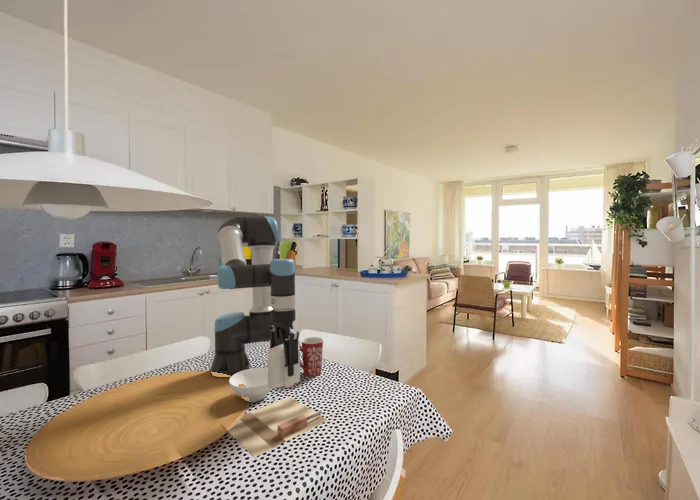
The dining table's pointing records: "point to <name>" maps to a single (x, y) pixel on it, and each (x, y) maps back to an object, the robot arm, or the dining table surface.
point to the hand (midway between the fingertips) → (284, 383)
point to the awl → (294, 424)
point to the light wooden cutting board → (271, 425)
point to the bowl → (251, 383)
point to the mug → (312, 355)
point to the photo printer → (280, 367)
